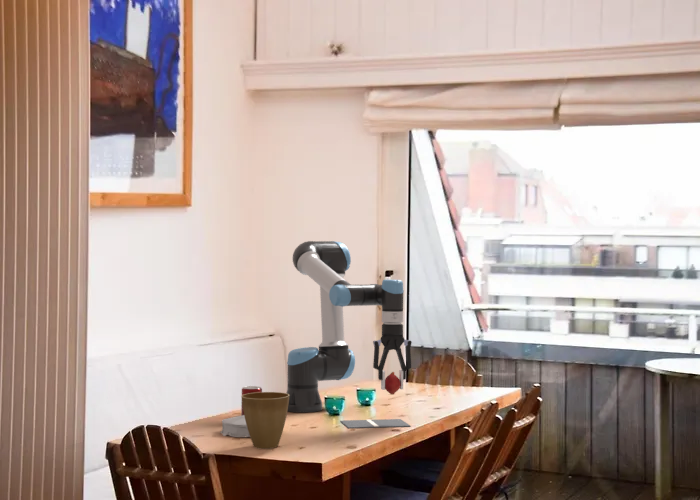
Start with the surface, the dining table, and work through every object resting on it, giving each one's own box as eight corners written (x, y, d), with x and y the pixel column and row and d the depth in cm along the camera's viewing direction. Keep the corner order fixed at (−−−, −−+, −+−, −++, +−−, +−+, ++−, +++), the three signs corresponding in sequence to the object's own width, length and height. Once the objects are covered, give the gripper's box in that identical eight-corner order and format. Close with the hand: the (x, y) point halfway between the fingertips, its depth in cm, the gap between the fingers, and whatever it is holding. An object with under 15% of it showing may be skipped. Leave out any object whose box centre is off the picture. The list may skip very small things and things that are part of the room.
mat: (348, 428, 343) (348, 427, 343) (340, 421, 356) (340, 420, 356) (410, 426, 347) (410, 425, 347) (400, 420, 361) (400, 418, 361)
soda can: (237, 422, 354) (238, 388, 354) (246, 419, 360) (247, 385, 361) (256, 423, 351) (256, 389, 351) (265, 420, 358) (265, 386, 358)
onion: (387, 396, 349) (388, 373, 349) (381, 393, 354) (381, 371, 354) (403, 395, 351) (403, 372, 351) (396, 393, 357) (396, 370, 357)
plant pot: (268, 440, 320) (269, 390, 320) (298, 447, 309) (299, 395, 309) (231, 446, 310) (231, 394, 310) (260, 453, 299) (261, 399, 299)
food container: (213, 430, 340) (213, 410, 340) (270, 426, 346) (270, 407, 346) (226, 442, 321) (226, 420, 321) (286, 437, 328) (286, 416, 328)
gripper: (368, 324, 347) (368, 391, 347) (421, 323, 351) (420, 389, 351) (364, 322, 355) (363, 388, 355) (415, 322, 359) (415, 387, 359)
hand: (392, 388), depth 353 cm, fingers closed on onion, 6 cm apart
